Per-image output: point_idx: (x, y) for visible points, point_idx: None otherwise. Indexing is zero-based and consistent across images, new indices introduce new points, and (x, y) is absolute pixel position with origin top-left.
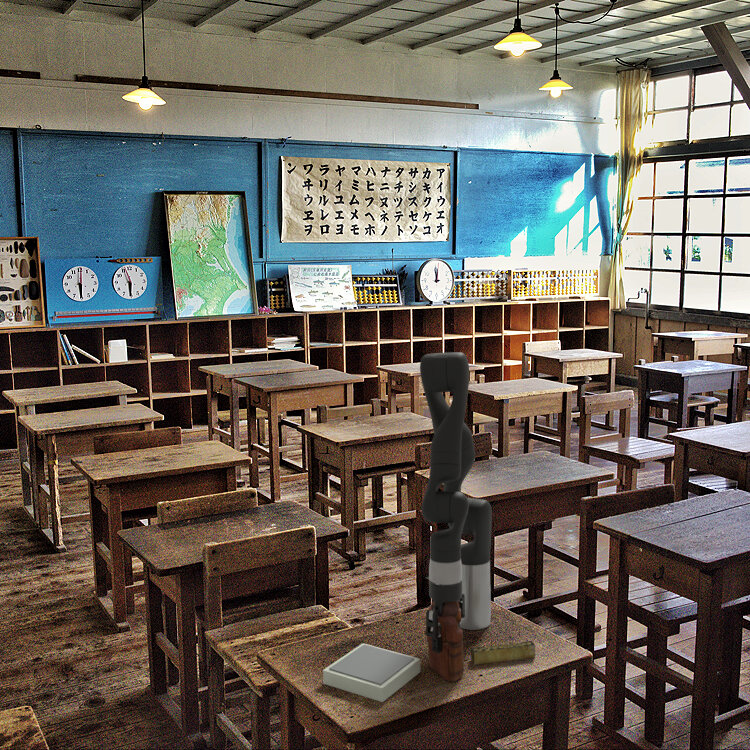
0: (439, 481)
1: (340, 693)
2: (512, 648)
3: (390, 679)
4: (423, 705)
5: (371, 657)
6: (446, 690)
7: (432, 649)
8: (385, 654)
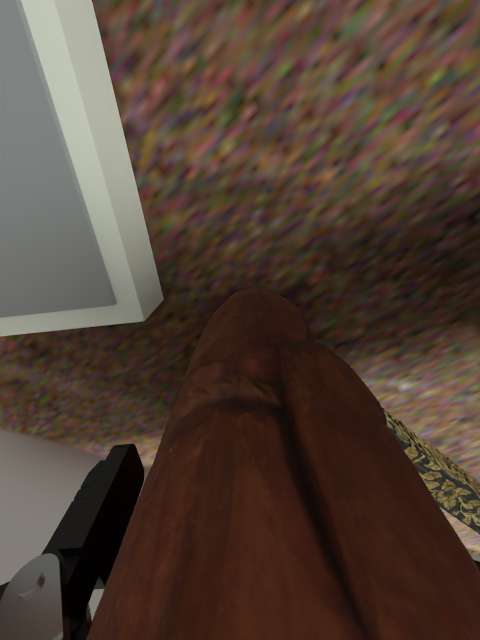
0: None
1: None
2: (439, 504)
3: None
4: (20, 424)
5: None
6: (134, 426)
7: (96, 465)
8: (5, 125)
